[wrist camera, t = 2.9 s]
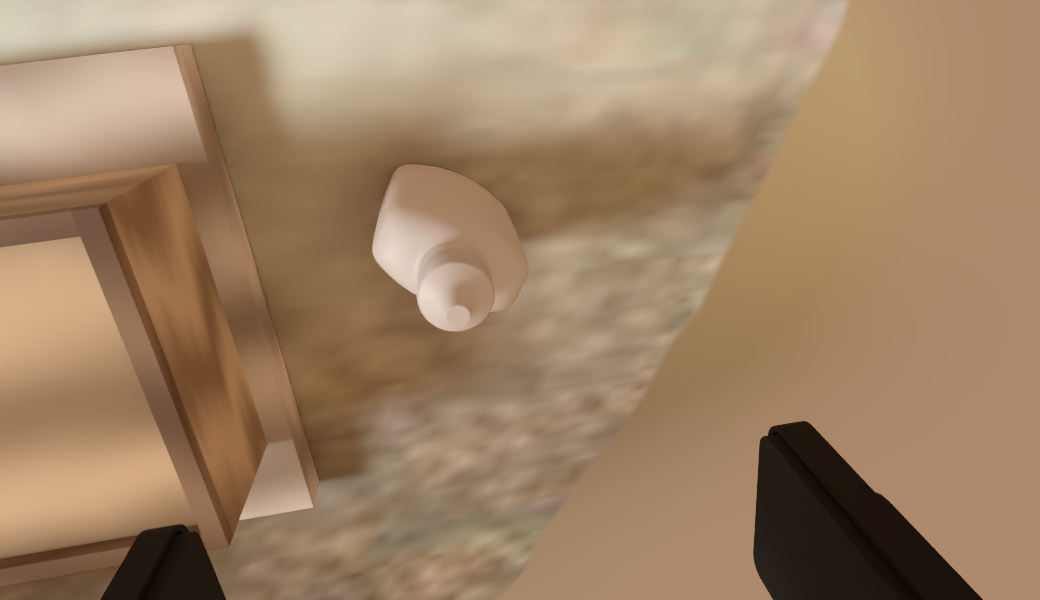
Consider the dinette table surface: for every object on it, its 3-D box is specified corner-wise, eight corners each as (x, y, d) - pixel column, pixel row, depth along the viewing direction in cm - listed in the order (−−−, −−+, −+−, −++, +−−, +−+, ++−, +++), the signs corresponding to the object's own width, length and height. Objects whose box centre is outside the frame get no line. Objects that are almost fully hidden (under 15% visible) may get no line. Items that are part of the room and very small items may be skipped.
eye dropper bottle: (446, 279, 31) (457, 420, 20) (368, 186, 29) (333, 288, 18) (519, 226, 30) (572, 341, 19) (446, 128, 28) (460, 195, 17)
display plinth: (-189, 87, 24) (-479, 118, 16) (190, 43, 25) (85, 54, 18) (47, 527, 33) (-69, 683, 26) (319, 481, 34) (287, 616, 27)
